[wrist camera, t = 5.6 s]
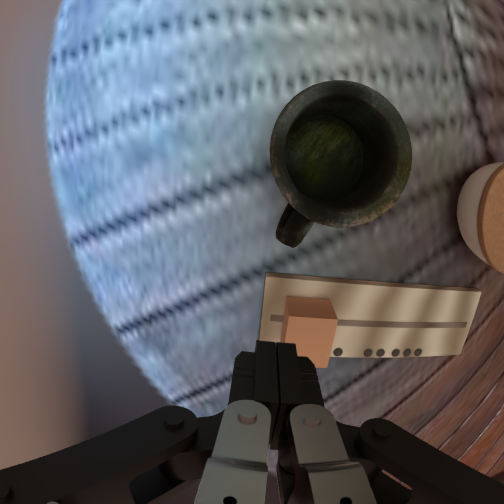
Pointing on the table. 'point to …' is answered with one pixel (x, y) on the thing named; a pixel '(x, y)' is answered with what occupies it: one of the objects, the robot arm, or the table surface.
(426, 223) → the table surface
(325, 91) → the mug
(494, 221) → the lidded bowl
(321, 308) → the slider
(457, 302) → the count board
